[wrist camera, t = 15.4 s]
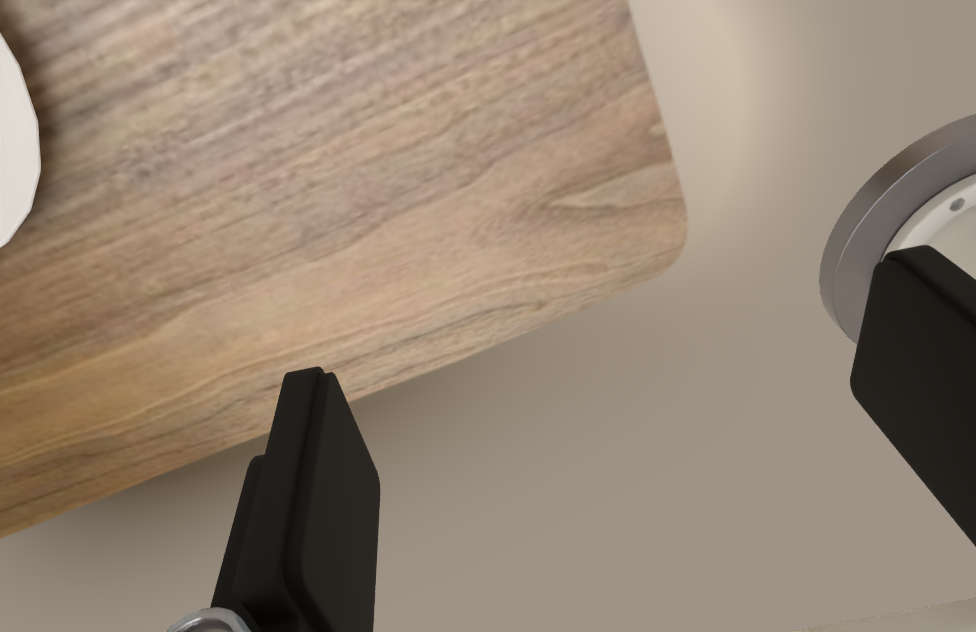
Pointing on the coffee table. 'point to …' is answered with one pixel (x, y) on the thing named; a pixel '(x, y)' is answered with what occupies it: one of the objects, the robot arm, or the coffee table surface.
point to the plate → (16, 146)
